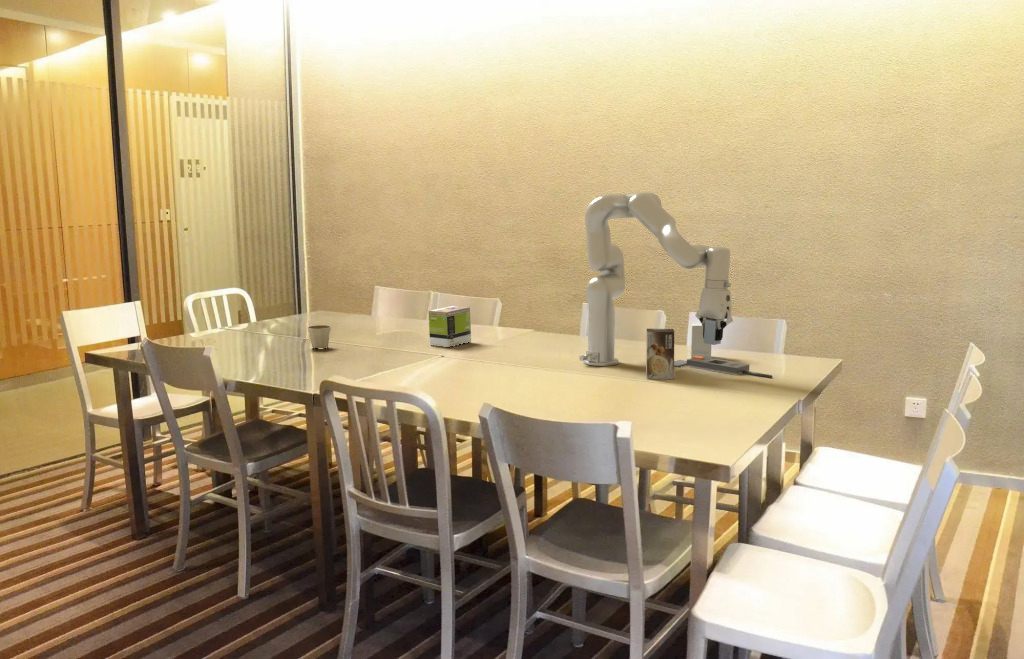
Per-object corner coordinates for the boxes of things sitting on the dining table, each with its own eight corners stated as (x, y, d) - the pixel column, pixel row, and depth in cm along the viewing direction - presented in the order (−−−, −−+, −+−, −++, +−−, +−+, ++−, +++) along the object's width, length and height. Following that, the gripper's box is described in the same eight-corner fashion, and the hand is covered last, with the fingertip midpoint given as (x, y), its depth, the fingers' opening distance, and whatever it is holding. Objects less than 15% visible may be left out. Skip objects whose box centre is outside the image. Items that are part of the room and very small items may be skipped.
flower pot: (337, 347, 337) (336, 326, 335) (320, 351, 329) (319, 329, 327) (320, 345, 342) (319, 324, 340) (303, 349, 334) (302, 327, 332)
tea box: (452, 340, 351) (452, 305, 349) (471, 342, 345) (471, 306, 343) (428, 345, 339) (427, 309, 337) (448, 348, 333) (447, 311, 331)
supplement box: (711, 360, 308) (712, 326, 306) (690, 359, 309) (691, 325, 307) (710, 356, 315) (711, 322, 313) (690, 355, 317) (691, 322, 314)
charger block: (713, 345, 279) (715, 320, 277) (703, 343, 282) (705, 319, 280) (720, 343, 282) (722, 319, 280) (710, 341, 284) (712, 317, 283)
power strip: (765, 380, 276) (766, 371, 275) (686, 366, 298) (686, 357, 297) (778, 376, 281) (778, 367, 281) (699, 362, 303) (699, 354, 303)
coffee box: (673, 375, 283) (674, 328, 281) (674, 380, 277) (675, 331, 274) (645, 375, 285) (646, 328, 282) (645, 379, 278) (646, 331, 276)
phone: (677, 369, 296) (677, 366, 296) (663, 366, 300) (663, 363, 300) (693, 364, 303) (693, 361, 303) (679, 362, 307) (679, 359, 307)
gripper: (744, 286, 275) (740, 342, 278) (701, 281, 287) (697, 334, 290) (732, 288, 270) (728, 344, 273) (688, 282, 281) (684, 336, 285)
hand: (712, 338), depth 281 cm, fingers closed on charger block, 4 cm apart
